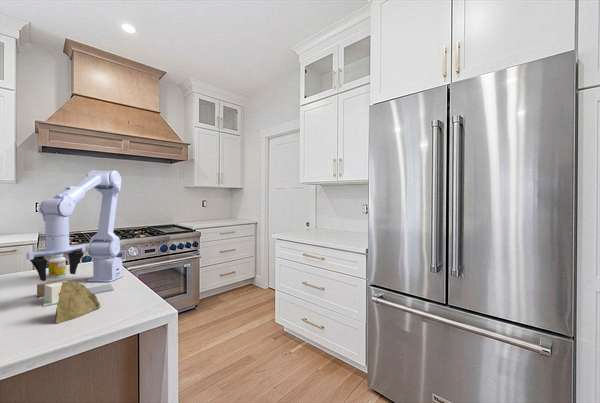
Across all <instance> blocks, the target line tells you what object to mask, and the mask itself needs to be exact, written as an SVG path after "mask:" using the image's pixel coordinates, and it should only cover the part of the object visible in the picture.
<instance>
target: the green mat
mask: <svg viewBox="0 0 600 403" xmlns="http://www.w3.org/2000/svg"><path fill="white" fill-rule="evenodd" d="M54 305H58V302H54V303H51V302H48V301H46V300H45V298H43V307H48V306H49V307H50V306H54Z"/></svg>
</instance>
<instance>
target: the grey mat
mask: <svg viewBox="0 0 600 403" xmlns="http://www.w3.org/2000/svg"><path fill="white" fill-rule="evenodd" d="M86 288H87V287H86ZM87 289H88V290H89V291H90V292H91V293H93V294H95V295H96V294H101V293H106V292H112V291H114V288H113V286H112V284H111V283H110V284H105V285H97V286H92V287H89V288H87Z"/></svg>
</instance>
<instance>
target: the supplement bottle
mask: <svg viewBox="0 0 600 403" xmlns="http://www.w3.org/2000/svg"><path fill="white" fill-rule="evenodd" d="M52 254H54V253H52ZM66 262H67V260H66V257H64V254H60V255H54V256H50V258H49V259H48V260H47V264H48V278H50V279H53V278H60V277H64V276H66V274H67V269H66V268H67V267H66V266H67V263H66Z"/></svg>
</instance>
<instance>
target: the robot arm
mask: <svg viewBox="0 0 600 403" xmlns="http://www.w3.org/2000/svg"><path fill="white" fill-rule="evenodd" d="M121 187H122V177H121V175H120V172H118V171H117V170H95V169H94V170H93V169H92V170H90V171H89V172H87V173H86V177H85V178H84V179H83V180H81V181H80V182H79V183H78V184H77V185H76V186H75V185H67V186H66V187H65V189H64V190H62V191H60V192H59V193H57V194H55V196H54V197H52V198H50V197H49V198H46V199H44V200H43V201H42V202H41V203H40V206H39V207H38V210H39V213H40V214H41V215H42V220H43V222H44V224H45V226H44V231H45V232H44V233H45V249H41V250H36V251H30V252H26V253H25V255H26V257H25V258H26V260H29V261H30V262H31V264H32V265H33V266H34V268H35V270H36V271H37V274H38V277H39V280H40V281H41V282H45V281H47V264H48V260H47V259H45V258H46V257H51V256H54V255H60V254H63V255H65V254H67V256H68V261H69V274H71V275H76V272H77V268H78V266H79V263H80V261H81V259H82V258H83V256H84V252H85V251H86V250H87V251H86V252H87V254H88V256H90V259H92V260H93V261H92V262H93V263H92V265H93V266H92V267H93V268H92V273H93V275H92V277H93V278H89V279H87V282H98V283H99V282H100V283H103V282H106V283H111V282H113V281H116V280H117V279H120V278H123V277H124V274H123V260H122V258H121V257H117V256H118V255H119V253H120V251H121V243H120V237H119V236H118V235H116V234H115V233H114V232H115V231H114V228H115V223H116V222H115V221H116V215H117V214H116V213H117V205H118V198H119V192H121ZM93 189H95V190H96V191H97V192H99V193H100V194H101V195H102V197H101V204H100V205H101V206H100V213H99V219H98V227H97V233H95V234H94V235H93V236H91V237H90V240H89V243H88V245H87V248H86V245H85V244H79V245H77V244H76V245H70V215H72V214H73V212H74V209H75V207H76V205H78V204H79V203H80V202H82V200H84V199H85V197H86V194H87V193H88V192H89V191H91V190H93ZM52 253H54V254H52Z"/></svg>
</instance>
